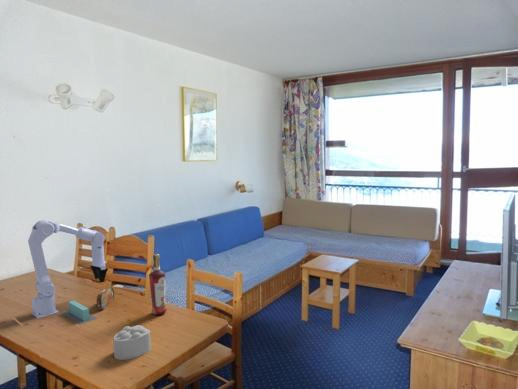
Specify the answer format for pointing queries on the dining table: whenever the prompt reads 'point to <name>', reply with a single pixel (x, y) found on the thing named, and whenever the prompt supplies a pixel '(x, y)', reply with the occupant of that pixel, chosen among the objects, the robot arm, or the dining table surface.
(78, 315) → the teal rectangular block
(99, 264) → the robot arm
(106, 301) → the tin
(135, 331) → the lumpy-topped squat cylinder
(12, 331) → the dining table surface
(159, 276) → the liquor
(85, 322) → the tool mat
